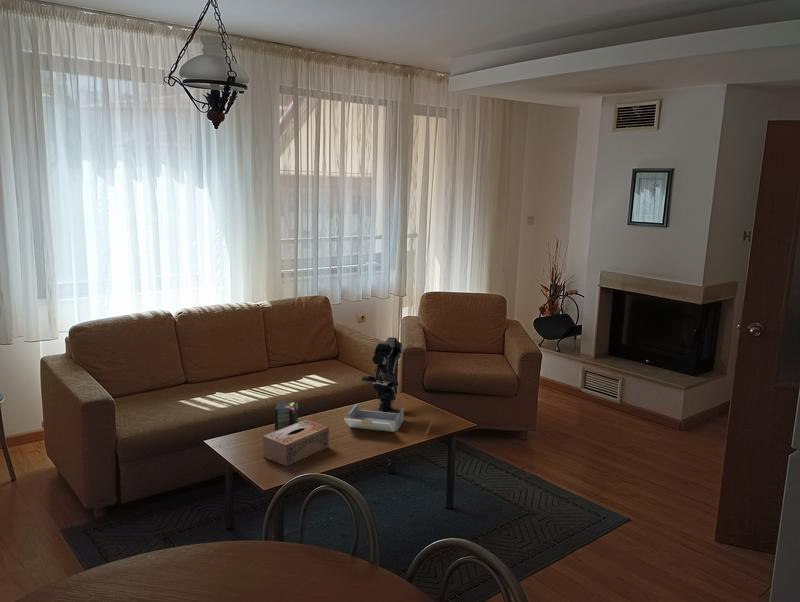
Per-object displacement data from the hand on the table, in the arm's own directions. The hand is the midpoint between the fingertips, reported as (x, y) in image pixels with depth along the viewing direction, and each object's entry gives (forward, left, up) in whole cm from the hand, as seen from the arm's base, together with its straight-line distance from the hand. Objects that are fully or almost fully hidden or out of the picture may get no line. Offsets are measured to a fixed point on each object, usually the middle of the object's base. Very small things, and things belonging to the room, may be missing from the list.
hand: (378, 398), depth 315 cm
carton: (+3, +2, -12) cm, 13 cm away
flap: (+10, +6, -11) cm, 16 cm away
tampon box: (+43, -19, -12) cm, 48 cm away
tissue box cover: (+52, 0, -13) cm, 53 cm away
